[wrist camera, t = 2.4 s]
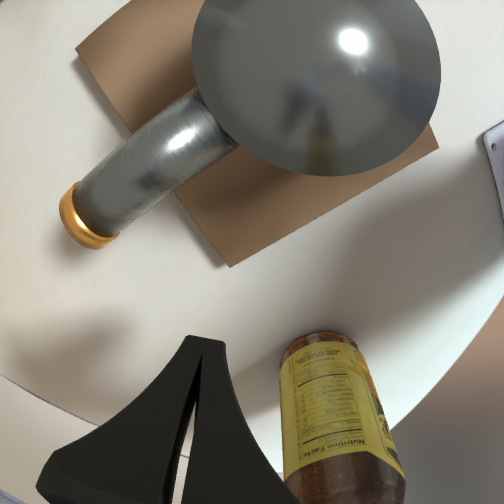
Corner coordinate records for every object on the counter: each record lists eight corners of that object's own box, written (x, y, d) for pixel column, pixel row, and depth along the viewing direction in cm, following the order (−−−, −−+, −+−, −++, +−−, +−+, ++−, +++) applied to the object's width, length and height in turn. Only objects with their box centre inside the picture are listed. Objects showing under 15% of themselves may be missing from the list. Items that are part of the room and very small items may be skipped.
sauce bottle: (348, 384, 24) (392, 613, 6) (273, 384, 24) (276, 633, 6) (370, 322, 21) (460, 603, 3) (283, 319, 21) (302, 649, 3)
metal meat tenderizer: (337, -47, 8) (354, -77, 6) (437, 110, 11) (475, 114, 9) (53, 140, 12) (14, 151, 10) (153, 277, 15) (133, 311, 13)
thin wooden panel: (431, 145, 16) (465, 155, 12) (231, 260, 19) (224, 293, 16) (284, -73, 10) (289, -105, 7) (83, 50, 14) (48, 43, 10)
